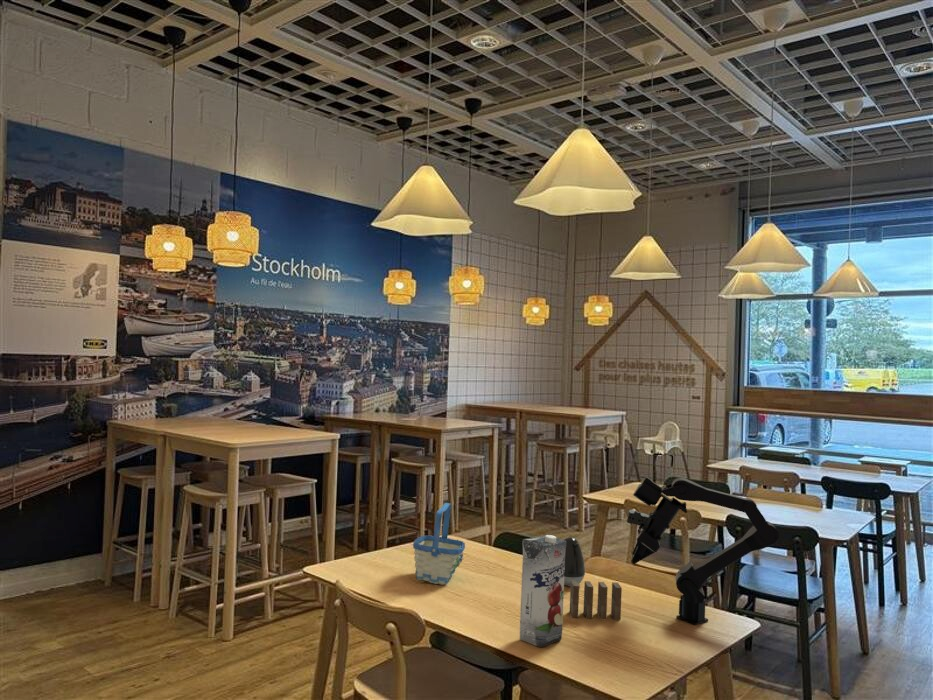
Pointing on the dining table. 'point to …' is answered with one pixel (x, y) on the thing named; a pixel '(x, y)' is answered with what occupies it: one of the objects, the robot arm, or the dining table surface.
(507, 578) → the dining table surface
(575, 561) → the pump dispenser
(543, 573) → the juice carton
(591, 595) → the domino
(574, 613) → the domino
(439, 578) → the basket
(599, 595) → the domino
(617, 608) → the domino
